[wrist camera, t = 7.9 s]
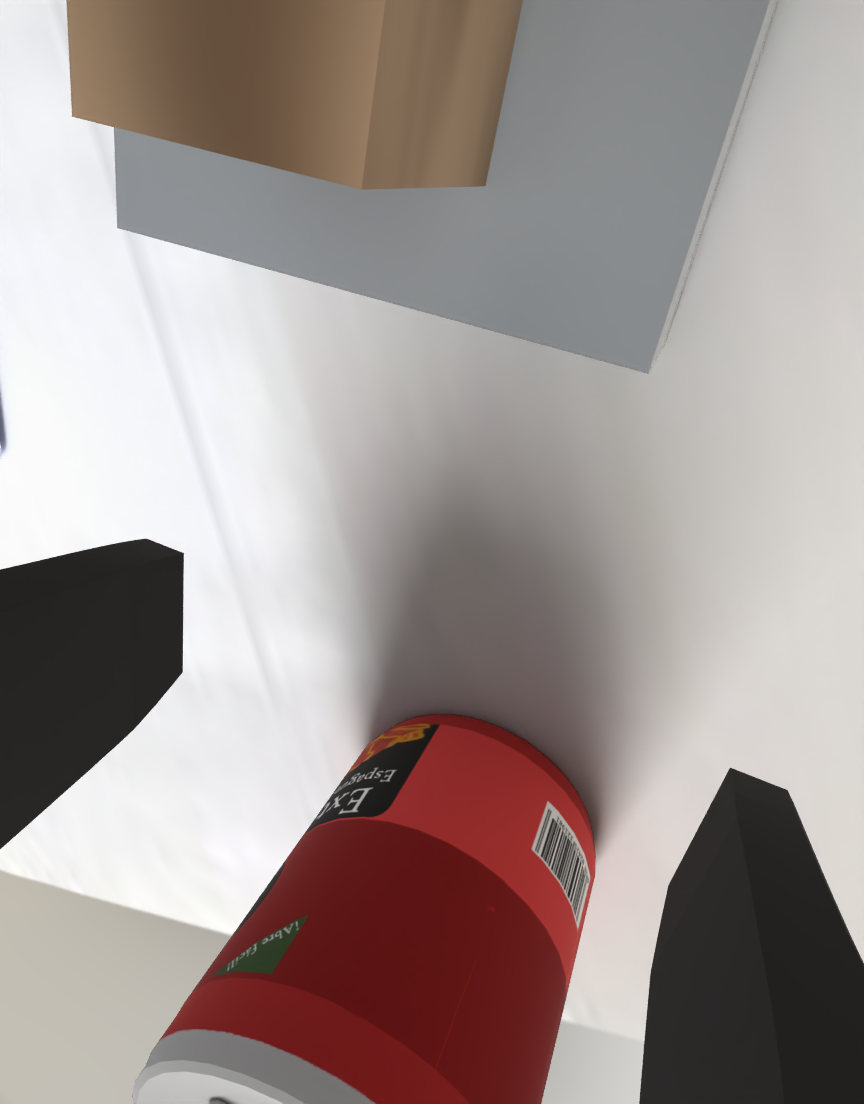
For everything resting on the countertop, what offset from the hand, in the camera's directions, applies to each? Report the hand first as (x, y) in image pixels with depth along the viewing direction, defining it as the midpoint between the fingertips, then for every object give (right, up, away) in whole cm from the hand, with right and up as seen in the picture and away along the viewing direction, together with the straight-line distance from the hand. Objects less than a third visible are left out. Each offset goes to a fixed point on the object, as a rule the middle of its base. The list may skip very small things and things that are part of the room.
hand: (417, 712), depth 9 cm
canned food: (+2, -6, +14) cm, 16 cm away
